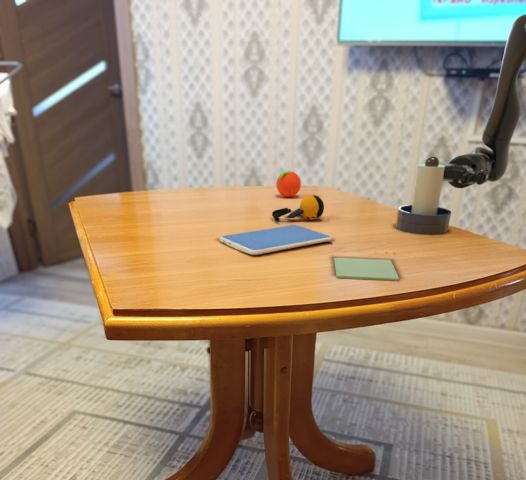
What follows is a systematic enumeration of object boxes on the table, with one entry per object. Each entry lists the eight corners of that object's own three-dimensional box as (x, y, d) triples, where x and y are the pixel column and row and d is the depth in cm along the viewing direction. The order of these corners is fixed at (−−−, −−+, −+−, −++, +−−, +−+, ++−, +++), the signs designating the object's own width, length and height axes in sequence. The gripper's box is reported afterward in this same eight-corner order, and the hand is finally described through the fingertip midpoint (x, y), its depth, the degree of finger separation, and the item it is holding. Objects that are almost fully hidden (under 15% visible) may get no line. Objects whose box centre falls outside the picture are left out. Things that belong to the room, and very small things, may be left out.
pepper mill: (431, 225, 114) (443, 155, 107) (436, 231, 109) (449, 158, 102) (406, 224, 114) (417, 154, 107) (411, 230, 109) (422, 157, 102)
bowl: (440, 225, 116) (444, 205, 114) (452, 238, 106) (456, 216, 104) (392, 223, 117) (394, 203, 115) (399, 235, 107) (402, 214, 105)
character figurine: (284, 233, 114) (331, 213, 116) (275, 209, 113) (322, 189, 115) (272, 235, 124) (315, 217, 126) (263, 213, 122) (307, 195, 124)
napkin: (390, 262, 90) (390, 260, 90) (399, 281, 81) (399, 278, 81) (333, 259, 91) (334, 257, 91) (336, 278, 82) (336, 275, 82)
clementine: (288, 200, 139) (289, 173, 136) (268, 197, 143) (269, 170, 140) (305, 196, 145) (306, 170, 141) (285, 193, 149) (286, 168, 145)
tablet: (253, 257, 91) (253, 250, 90) (217, 241, 100) (217, 235, 99) (334, 243, 101) (334, 236, 100) (294, 229, 110) (295, 223, 109)
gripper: (441, 151, 127) (416, 156, 116) (500, 156, 120) (480, 162, 108) (435, 182, 131) (411, 190, 119) (493, 189, 123) (472, 198, 112)
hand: (444, 177), depth 114 cm, fingers open, 8 cm apart
